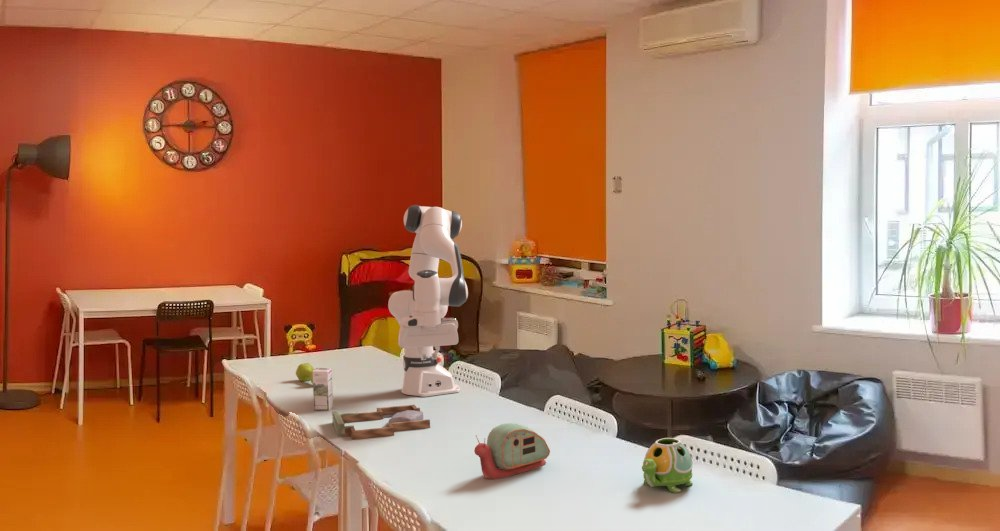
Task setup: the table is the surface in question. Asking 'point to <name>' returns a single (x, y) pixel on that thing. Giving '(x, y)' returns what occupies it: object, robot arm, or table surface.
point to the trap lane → (380, 414)
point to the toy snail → (511, 451)
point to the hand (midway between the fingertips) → (428, 359)
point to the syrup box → (322, 388)
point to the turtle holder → (667, 465)
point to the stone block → (406, 416)
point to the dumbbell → (305, 372)
